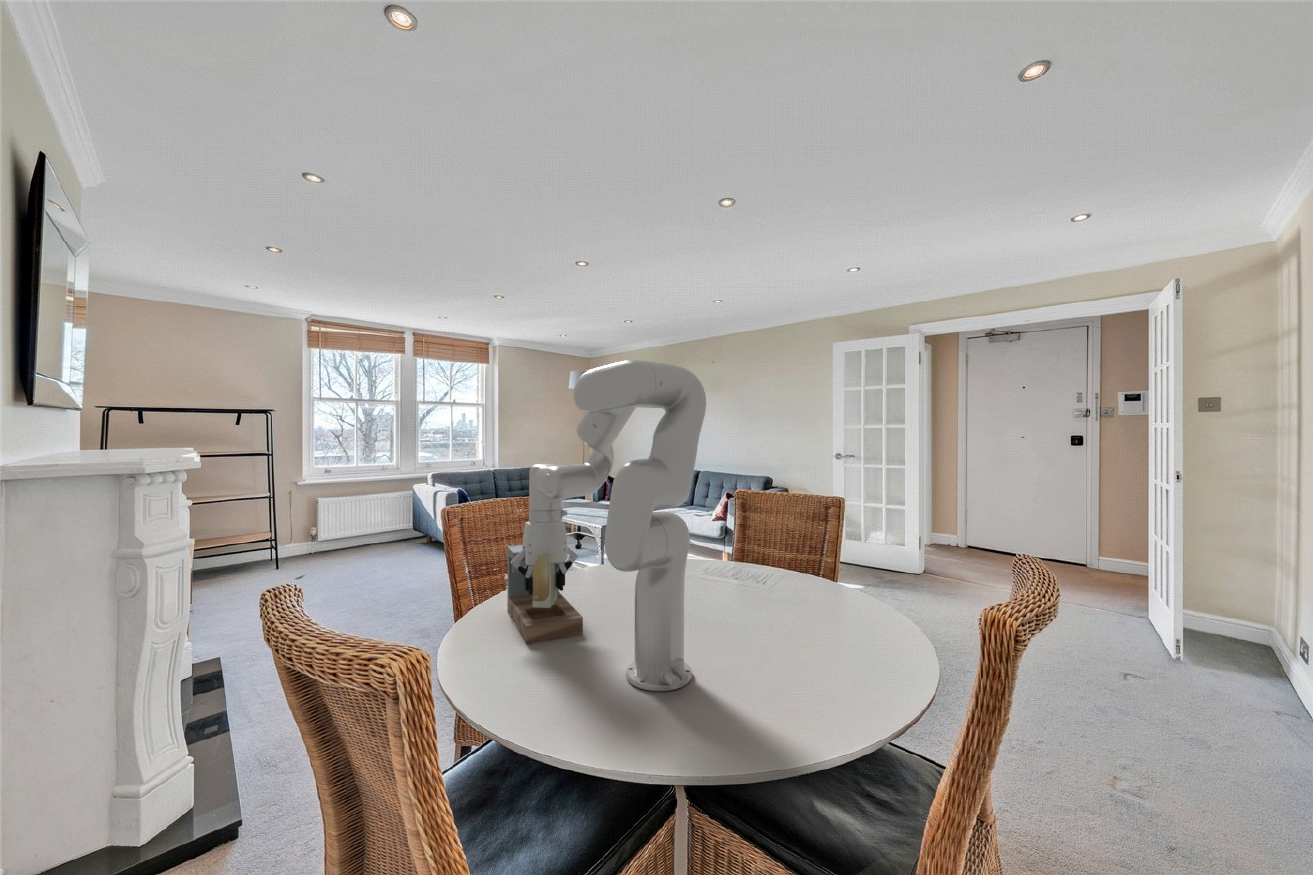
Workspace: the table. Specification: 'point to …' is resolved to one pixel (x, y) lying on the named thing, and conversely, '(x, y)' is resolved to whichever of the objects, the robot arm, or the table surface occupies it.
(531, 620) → the socket block
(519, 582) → the grey overhang panel
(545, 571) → the skincare box
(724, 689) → the table surface
